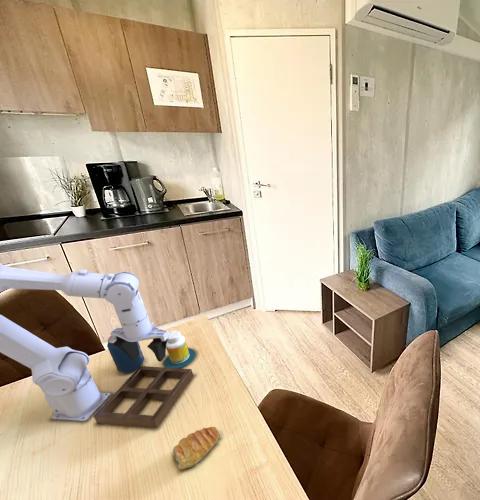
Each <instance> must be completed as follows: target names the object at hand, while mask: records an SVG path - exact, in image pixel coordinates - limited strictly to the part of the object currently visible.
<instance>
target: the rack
mask: <svg viewBox="0 0 480 500" xmlns="http://www.w3.org/2000/svg"><path fill="white" fill-rule="evenodd" d="M144 377H145V378H154V379H153V380H151V382H150V383H149V385H148V386H147V387H145V388H144V387H137V385H139V383H140V382H141V381H142V379H144ZM168 379H178V381H177V382H176V384H175V385H174V387H173V388H172V389H160V388H161V387H162V386H163V385H164V383H166V381H167V380H168ZM192 379H194V373H193V370H192V368H184V367H183V368H166V367H164V366H147V365H142V366H140V367H139V368H138V369H137V370H136V371H134V372H132V374H131V375H130V376H129V377H128V378H127V379H126V380H125V382H123V384H121V386H119V388H117V390H116V391H115V392H114V393H113V394H111V396H110V397H109V398H108V399H107V400H106V401H105V402H104V403H103V404H102V405H101V406H100V407H99V408H98V409H97V410H96V411H95V412H94V413H93V416H92V417H93V418H94V420H95V423H96V424H97V425H109V426H122V427H137V428H153V429H158V428H159V427H160V426H161V424H162V422H163V421H164V420H165V418H166V417H167V415H168V414H169V412H170V411H171V410H172V408H173V407H174V405H175V403H177V401H178V400H179V398H180V397H181V395H182V394H183V392H184V391H185V390H186V388H187V387H188V385H189V384H190V382H191V381H192ZM125 399H129V400H130V399H131V400H135V401H134V402H133V403H132V404H131V405H130V407H129V408H128V409H127V411H126V412H125V413H123V412H122V413H121V412H114V411H115V410H116V409H117V408H118V407H119V405H120V404H121V403H122V402H123V401H124V400H125ZM150 401H161V402H162V403H161V404H160V405H159V407H158V408H157V410H155V412H154V413H153V414H152V415H151V414H150V415H149V414H141V412H142V411H143V410H144V408H145V407H146V406H147V405H148V403H150Z"/></svg>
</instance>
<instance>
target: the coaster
mask: <svg viewBox="0 0 480 500" xmlns="http://www.w3.org/2000/svg"><path fill="white" fill-rule="evenodd" d="M188 351H189V358H188V359H187V360H186V361H184V362H182V363H179V364H173V363H171V361H170V358H169V355H167V356H166V357H165V358H164V361H163V367H166V368H183V369H184V368H185V367H187V366H189V365H190V364H191V363H192V362H193V361H194V360H195V358H196V351H195V350H194V349H193V348H189V347H188Z"/></svg>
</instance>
